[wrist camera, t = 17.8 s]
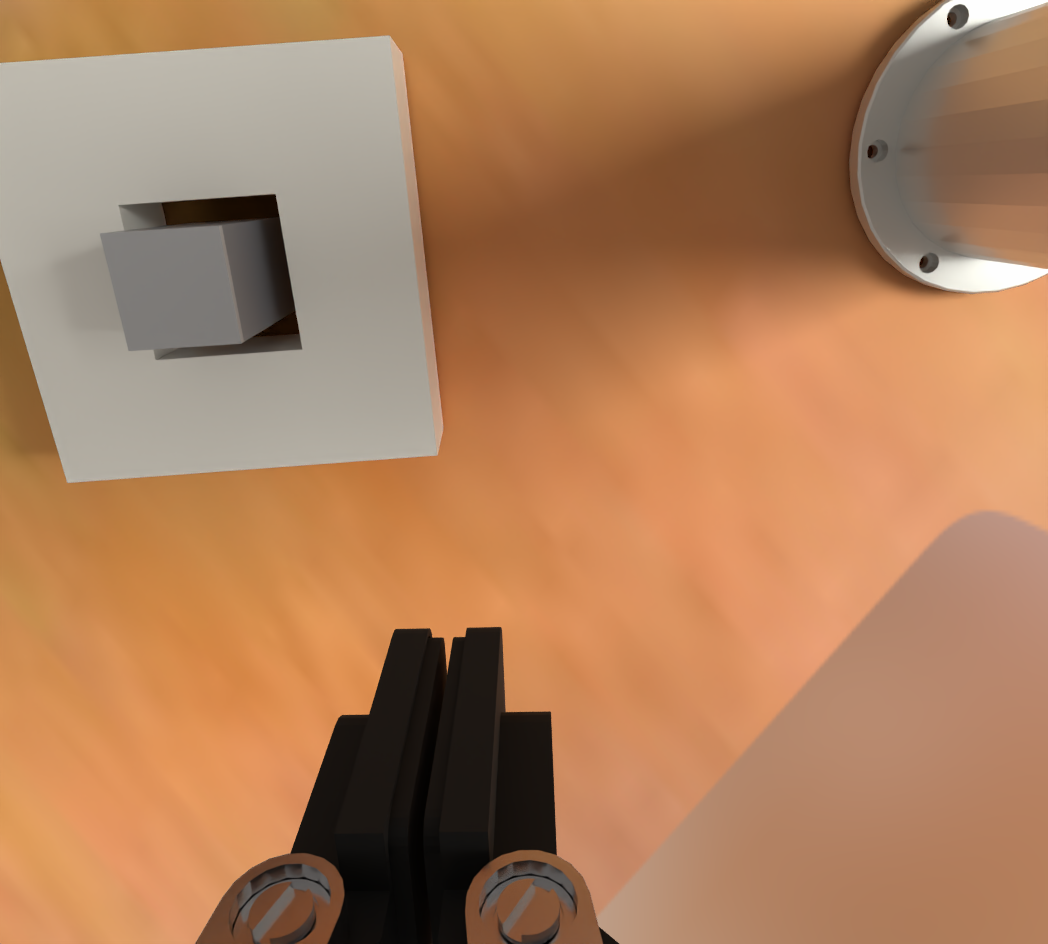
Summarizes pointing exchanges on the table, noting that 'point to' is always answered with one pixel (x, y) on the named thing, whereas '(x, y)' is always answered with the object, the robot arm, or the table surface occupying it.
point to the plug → (199, 282)
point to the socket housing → (214, 173)
